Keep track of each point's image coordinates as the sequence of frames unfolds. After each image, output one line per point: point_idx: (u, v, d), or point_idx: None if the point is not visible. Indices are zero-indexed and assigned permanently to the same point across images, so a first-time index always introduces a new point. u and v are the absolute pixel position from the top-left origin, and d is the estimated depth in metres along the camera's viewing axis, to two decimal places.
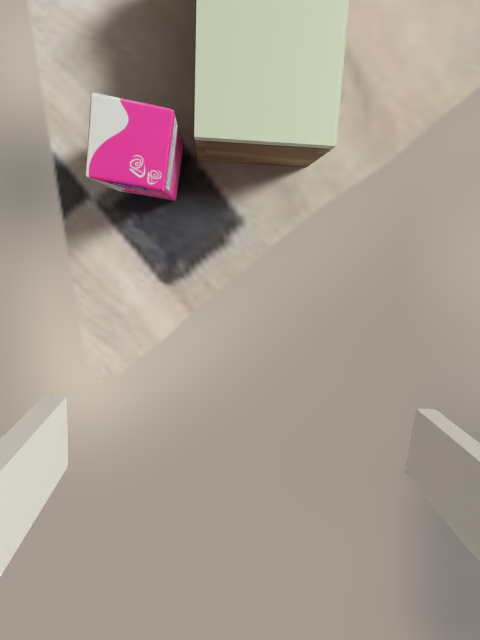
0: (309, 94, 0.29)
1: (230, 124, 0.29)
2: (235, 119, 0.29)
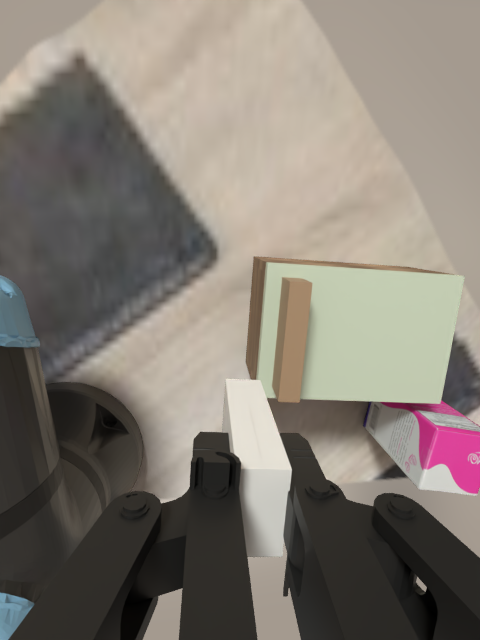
0: (418, 303, 0.31)
1: (434, 373, 0.33)
2: (430, 369, 0.33)
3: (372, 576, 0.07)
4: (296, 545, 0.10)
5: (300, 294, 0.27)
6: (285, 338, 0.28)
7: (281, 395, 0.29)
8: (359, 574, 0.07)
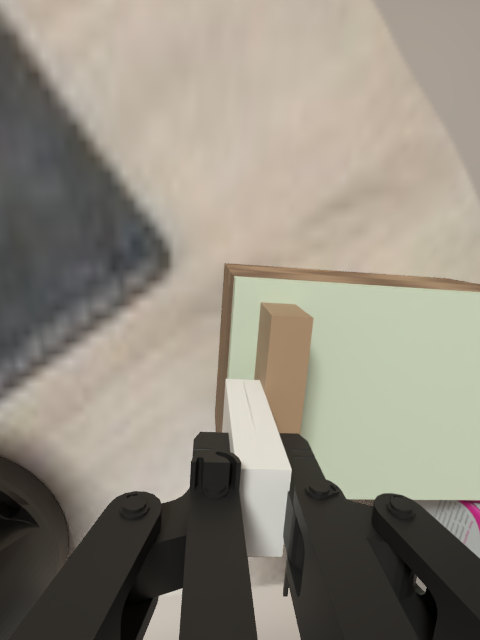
0: None
1: None
2: None
3: (372, 576, 0.07)
4: (296, 545, 0.10)
5: (291, 338, 0.15)
6: None
7: None
8: (359, 574, 0.07)
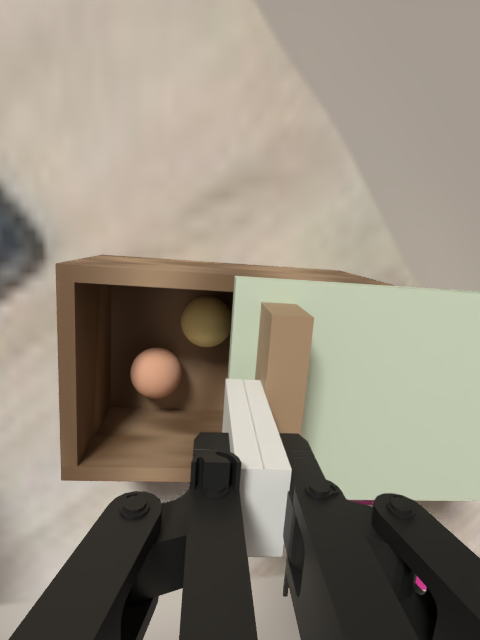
0: None
1: None
2: None
3: (372, 576, 0.07)
4: (296, 545, 0.10)
5: (292, 338, 0.15)
6: None
7: None
8: (359, 574, 0.07)
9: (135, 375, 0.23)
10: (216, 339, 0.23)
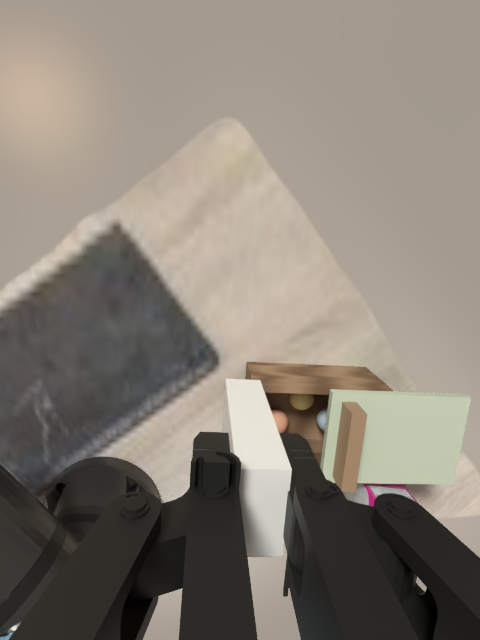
0: (438, 416, 0.44)
1: (449, 463, 0.45)
2: (446, 461, 0.45)
3: (372, 576, 0.07)
4: (296, 545, 0.10)
5: (359, 421, 0.40)
6: (347, 450, 0.40)
7: (343, 487, 0.41)
8: (359, 574, 0.07)
9: None
10: (307, 407, 0.48)
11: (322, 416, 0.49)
